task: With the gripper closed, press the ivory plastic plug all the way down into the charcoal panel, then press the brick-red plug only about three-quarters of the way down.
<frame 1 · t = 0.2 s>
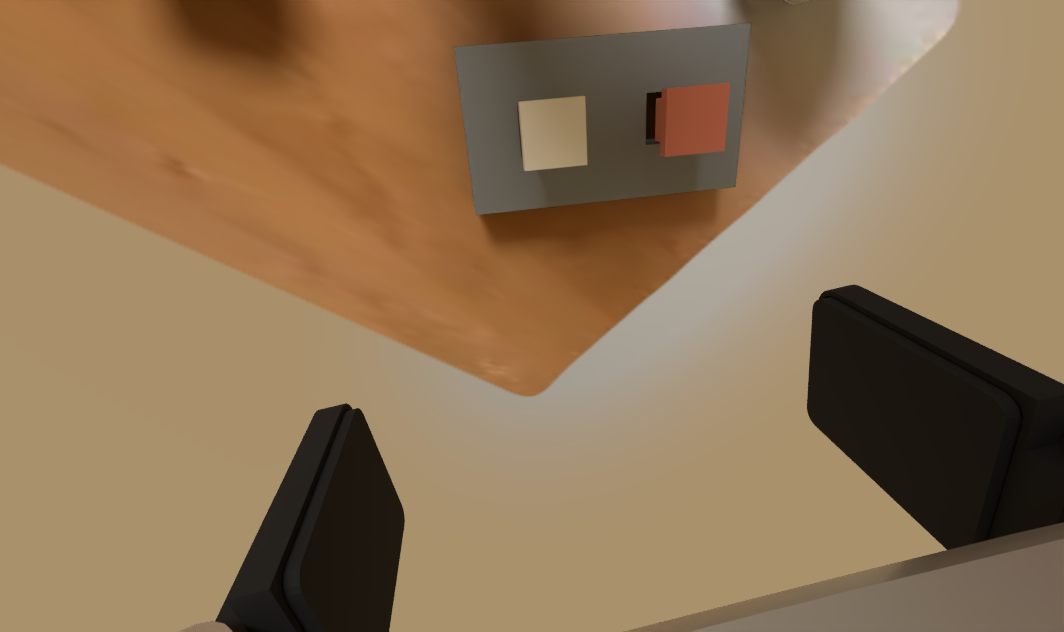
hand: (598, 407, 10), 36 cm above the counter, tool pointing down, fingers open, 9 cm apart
plug panel: (594, 120, 42), on the counter
red plug: (685, 119, 36), point 7 cm above the counter, slide at 0.0 cm
ivory plug: (549, 132, 35), point 7 cm above the counter, slide at 0.0 cm
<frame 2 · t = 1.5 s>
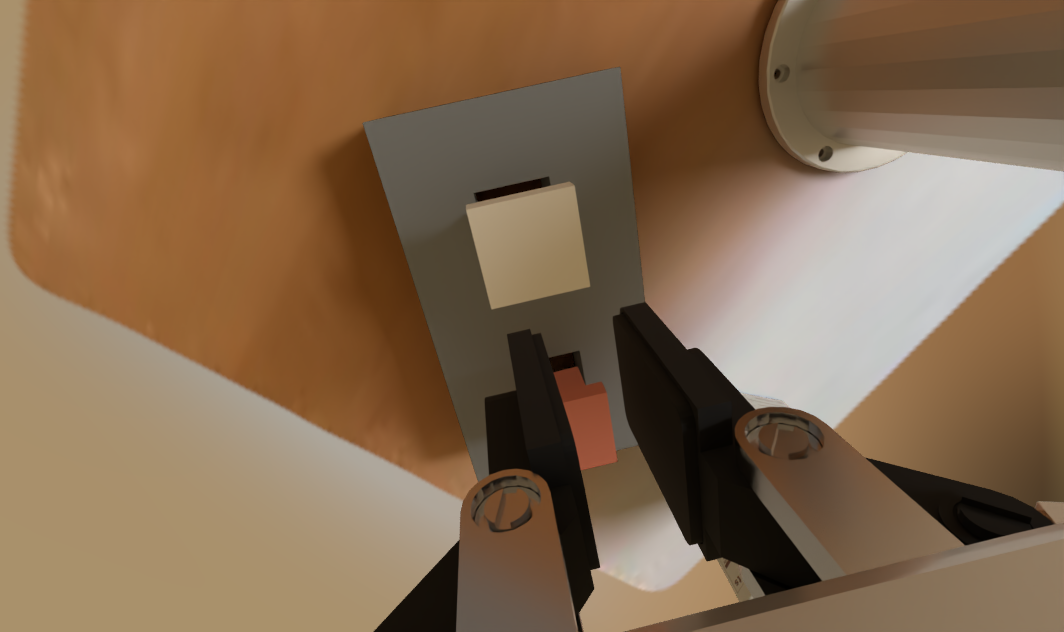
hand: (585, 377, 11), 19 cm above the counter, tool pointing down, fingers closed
plug panel: (529, 284, 30), on the counter
red plug: (562, 414, 26), point 7 cm above the counter, slide at 0.0 cm
supplement box: (719, 427, 37), on the counter
ivory plug: (525, 237, 22), point 7 cm above the counter, slide at 0.0 cm
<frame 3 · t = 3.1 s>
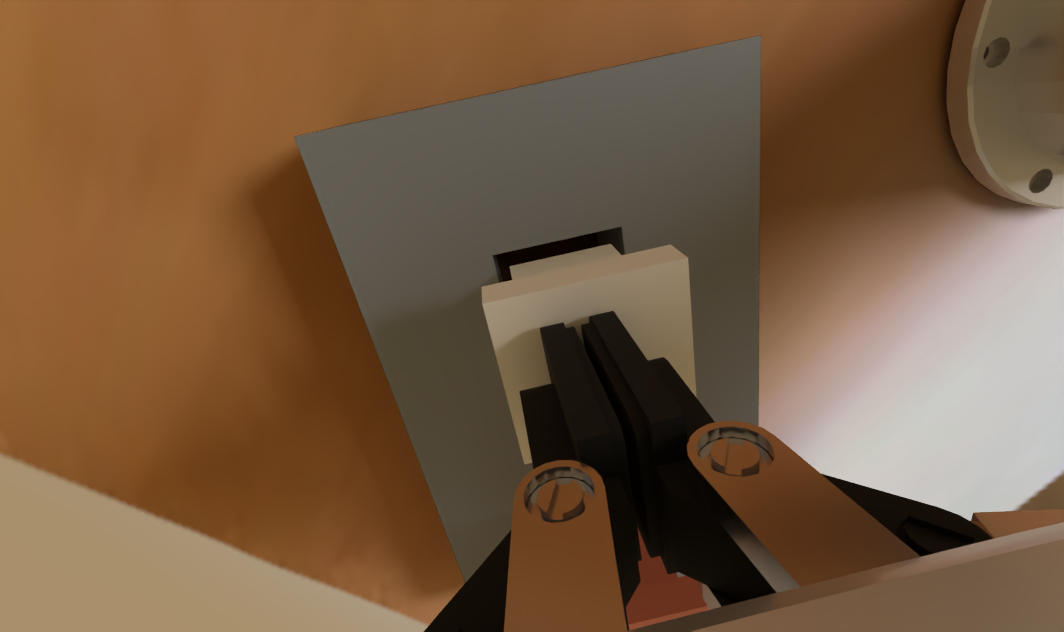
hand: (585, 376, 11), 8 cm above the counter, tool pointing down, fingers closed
plug panel: (570, 370, 21), on the counter
red plug: (631, 603, 16), point 7 cm above the counter, slide at 0.0 cm
ivory plug: (581, 330, 13), point 6 cm above the counter, slide at 0.9 cm, touching gripper
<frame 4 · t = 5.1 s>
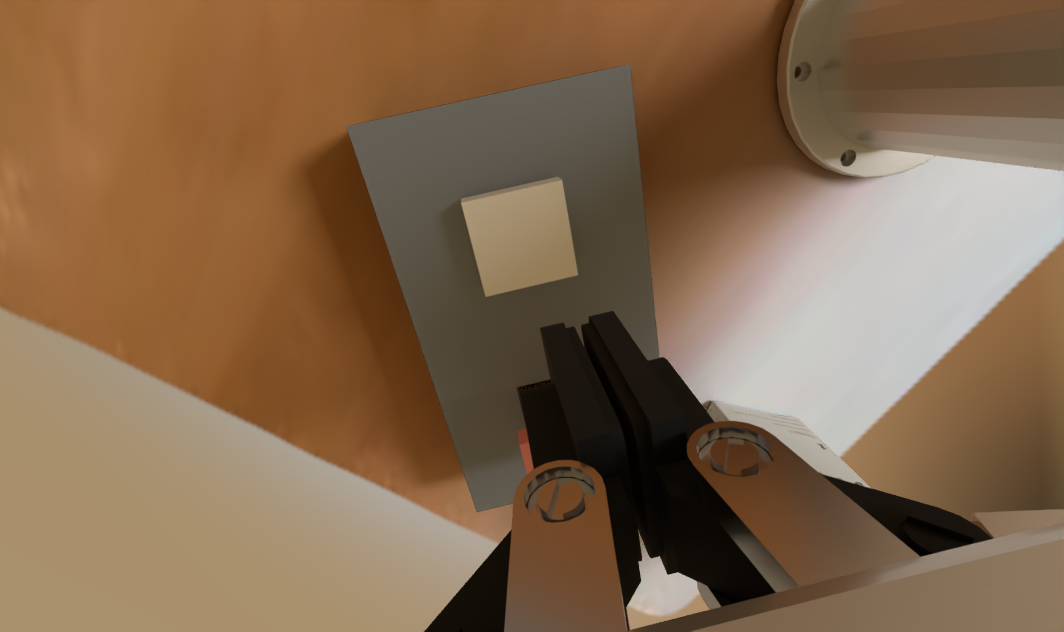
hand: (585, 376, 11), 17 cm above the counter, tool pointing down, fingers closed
plug panel: (529, 299, 28), on the counter
red plug: (567, 442, 24), point 7 cm above the counter, slide at 0.0 cm
supplement box: (731, 446, 35), on the counter
ivory plug: (517, 229, 23), point 3 cm above the counter, slide at 3.8 cm
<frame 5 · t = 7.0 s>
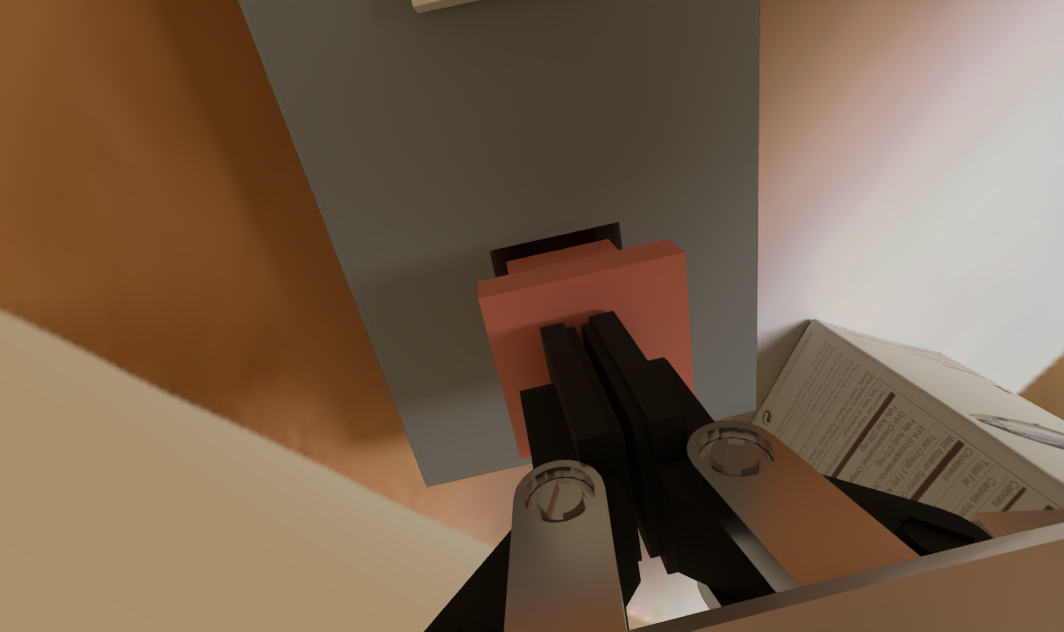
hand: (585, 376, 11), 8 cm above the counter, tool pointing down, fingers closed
plug panel: (519, 114, 16), on the counter
red plug: (578, 326, 13), point 6 cm above the counter, slide at 0.9 cm, touching gripper
supplement box: (831, 396, 23), on the counter
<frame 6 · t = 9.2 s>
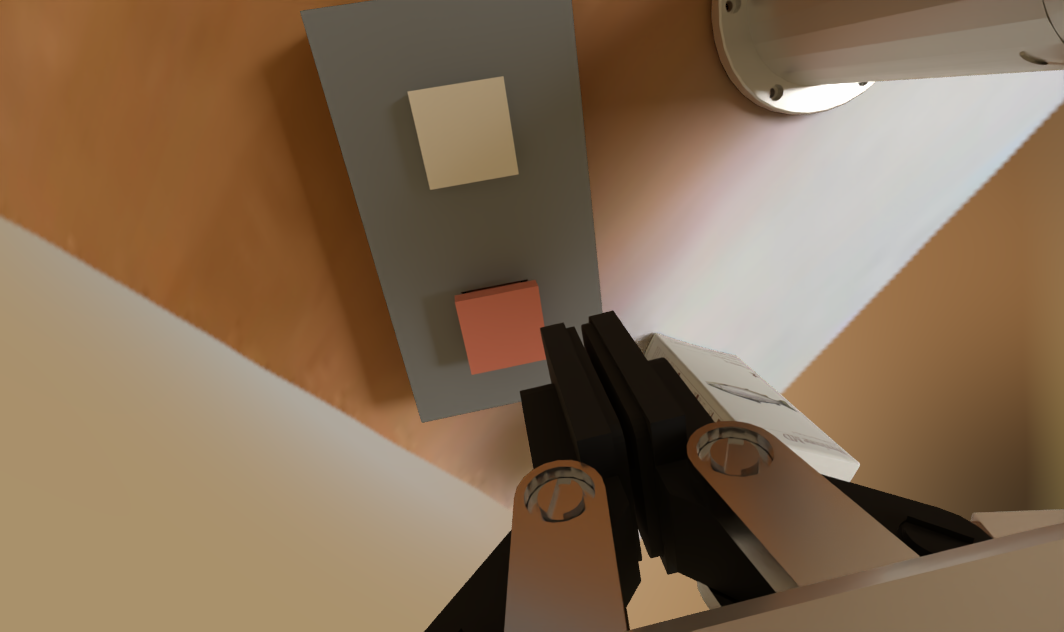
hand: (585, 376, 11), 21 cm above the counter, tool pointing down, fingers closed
plug panel: (479, 216, 30), on the counter
red plug: (500, 317, 28), point 4 cm above the counter, slide at 2.9 cm
supplement box: (673, 382, 37), on the counter
ivory plug: (464, 132, 25), point 3 cm above the counter, slide at 3.8 cm
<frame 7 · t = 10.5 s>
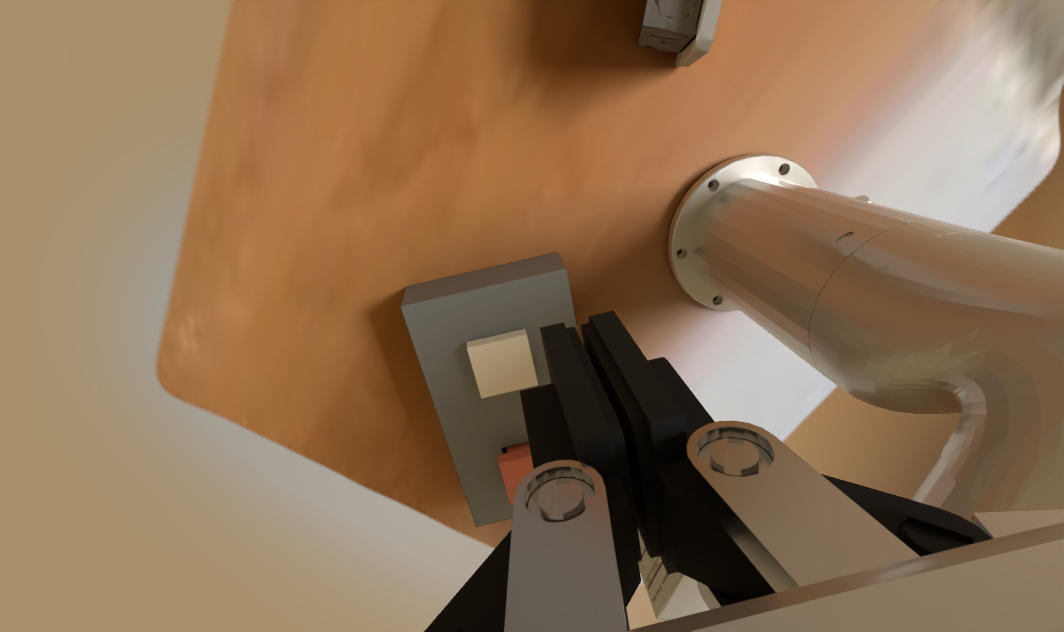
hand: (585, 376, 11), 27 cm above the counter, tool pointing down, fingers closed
plug panel: (511, 385, 43), on the counter
red plug: (528, 461, 41), point 4 cm above the counter, slide at 2.9 cm
supplement box: (657, 479, 50), on the counter
ivory plug: (501, 354, 38), point 3 cm above the counter, slide at 3.8 cm
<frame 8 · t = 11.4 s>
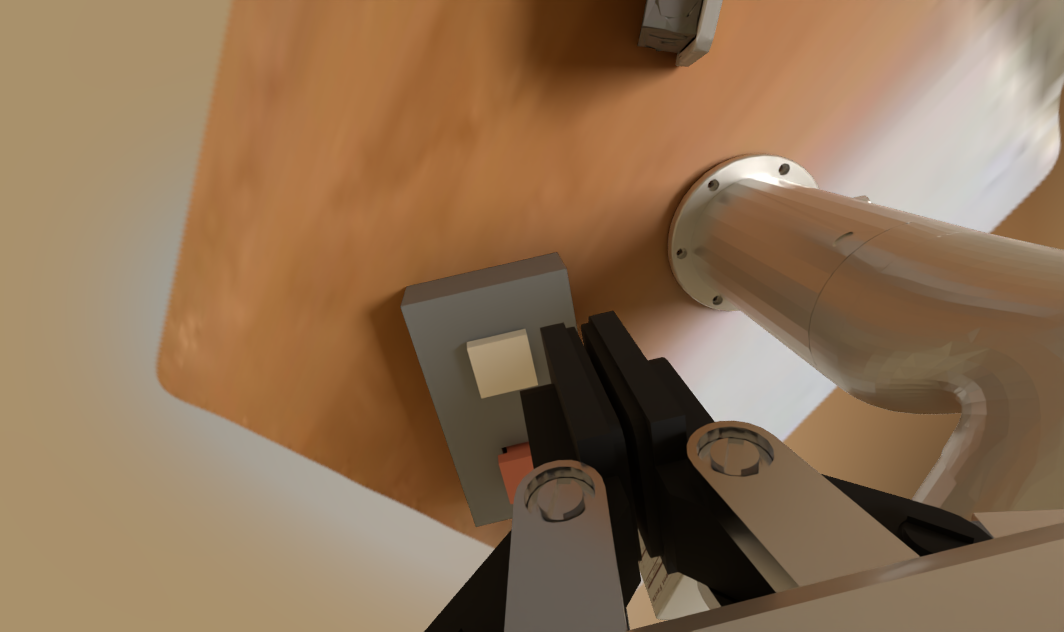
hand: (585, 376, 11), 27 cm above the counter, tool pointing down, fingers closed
plug panel: (511, 385, 43), on the counter
red plug: (528, 461, 41), point 4 cm above the counter, slide at 2.9 cm
supplement box: (657, 479, 50), on the counter
ivory plug: (501, 354, 38), point 3 cm above the counter, slide at 3.8 cm
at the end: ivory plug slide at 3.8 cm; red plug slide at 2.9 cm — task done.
